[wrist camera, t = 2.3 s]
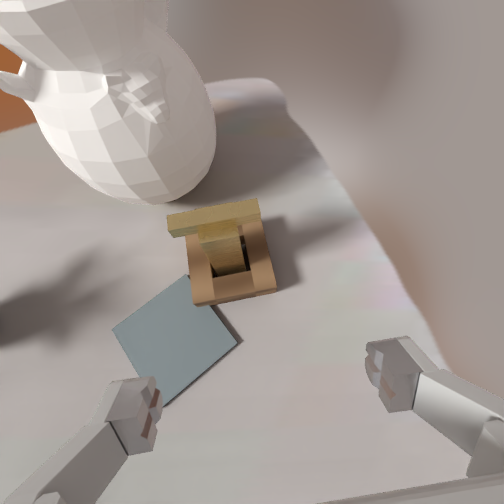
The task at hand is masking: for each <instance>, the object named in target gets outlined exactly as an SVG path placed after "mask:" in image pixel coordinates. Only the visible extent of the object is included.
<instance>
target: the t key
mask: <svg viewBox="0 0 504 504" xmlns="http://www.w3.org/2000/svg"><path fill="white" fill-rule="evenodd" d="M258 221H261V215H260V209H259V205H258V200H257V198H255V199H250V200H245V201H240V202H234V203H232V202H230V203H224V204H219V205H214V206H209V207H203V208H198V209H195V210H193V211H187V212H182V213H177V214H172V215H167V224H168V231H169V233H170V234H171V235H172V236H173V238H176V237H181V236H186V235H191V234H197V233H198V239H199V244H200V246H201V248H202V249H203V251H204V253H205V255H206V256H207V258H208V260H209V261H210V263H211V265H212V266H213V268H214V270H215V272H216V273H217V275H218V277H221V276H226V275H231V274H236V273H241V272H246V267H245V262H244V257H243V252H242V247H241V242H240V237H239V233H238V228H237V226H238V225H243V224H248V223H253V222H258Z"/></svg>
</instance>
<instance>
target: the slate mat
mask: <svg viewBox="0 0 504 504" xmlns="http://www.w3.org/2000/svg"><path fill="white" fill-rule="evenodd" d="M112 331H113V332H114V334H115V336H116V338H117V339H118V341H119V343H120V344H121V346H122V348H123V350H124V351H125V353H126V355H127V356H128V358H129V360H130V362H131V363H132V365H133V367H134V368H135V370H136V372H137V374H138V375H139V377H147V376H154V377H155V379H156V381H157V384H156V388H157V389H158V390H160V392H161V394H162V399H163V406H165V405H166V404H167V403H168V402H169V401H170V400H172V399H173V398H174V397H175V396H176V395H178V394H179V393H180V392H181V391H182V390H183V389H185V388H186V387H187V386H188V385H189V384H190V383H192V382H193V381H194V380H195V379H196V378H197V377H199V376H200V375H201V374H202V373H203V372H204V371H206V370H207V369H208V368H209V367H210V366H212V365H213V364H214V363H215V362H216V361H217V360H219V359H220V358H221V357H222V356H223V355H224V354H226V353H227V352H228V351H229V350H230V349H231V348H233V347H234V346H235V345H236V344H237V341H236V340H235V339H234V337H233V336H232V335H231V333H230V332H229V331H228V329H227V328H226V327H225V325H224V324H223V323H222V321H221V320H220V319H219V317H218V316H217V315H216V313H215V312H214V311H213V309H212V308H211V307H210V305H207V306H202V307H196V306H195V305H194V304H193V300H192V291H191V283H190V279H189V277H188V276H187V275H186V274H185V275H184V276H183V277H181V278H180V279H178V280H177V281H176V282H174V283H173V284H172V285H170V286H169V287H168V288H166V289H165V290H164V291H162V292H161V293H160V294H158V295H157V296H156V297H154V298H153V299H152V300H150V301H149V302H148V303H146V304H145V305H144V306H142V307H141V308H140V309H138V310H137V311H136V312H134V313H133V314H132V315H130V316H129V317H128V318H126V319H125V320H124V321H122V322H121V323H120V324H118V325H117V326H116V327H114V328H113V329H112Z"/></svg>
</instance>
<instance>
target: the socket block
mask: <svg viewBox="0 0 504 504" xmlns="http://www.w3.org/2000/svg"><path fill="white" fill-rule="evenodd" d="M237 228H238V233H239V237H240V242H241V245H244V244H245V245H246V250H247V255H248V260H249V265H250V269H251V271H246V272H241V273H236V274H231V275H226V276H221V277H216V278H215V274H214V268H213V266H212V265H211V263H210V261H209V260H208V258H207V256H206V255H205V253H204V251H203V249H202V248H201V246H200V244H199V239H198V233H197V234H191V235H186V236H185V239H186V247H187V256H188V265H189V274H190V283H191V291H192V300H193V304H194V305H195V306H196V307H202V306H207V305H210V306H212V305H217V304H222V303H227V302H231V301H236V300H241V299H246V298H251V297H256V296H261V295H266V294H271V293H275V292H276V290H277V284H276V280H275V276H274V272H273V268H272V263H271V259H270V255H269V251H268V246H267V242H266V238H265V234H264V230H263V225H262V221H258V222H253V223H248V224H243V225H238V226H237Z"/></svg>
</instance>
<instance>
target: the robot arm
mask: <svg viewBox="0 0 504 504" xmlns="http://www.w3.org/2000/svg"><path fill="white" fill-rule="evenodd" d="M366 351H367V353H368V354H369V355H368V356H367V357H366V358H365V368H366V373H367V375H368V378H369V380H370V381H371V383H372V385H373V386H375V387H377V388H378V389H379V397H380V399H381V401H382V402H383V404H384V406H385V407H386V409H387V411H388V412H389V413H392V412H400V411H407V410H413V412H415V413H416V414H417V415H418V416H420V417H421V418H422V419H424V420H425V421H426V422H428V423H429V424H430V425H431V426H433V427H434V428H435V429H437V430H438V431H439V432H440V433H442V434H443V435H444V436H446V437H447V438H448V439H450V440H451V441H452V442H453V443H455V444H456V445H457V446H459V447H460V448H461V449H463V450H464V451H465V452H466V453H468V454H469V455H470V456H472V457H471V460H470V463H469V465H468V468H467V472H466V475H467V476H468V478H466V479H460V480H454V481H448V482H442V483H436V484H431V485H425V486H419V487H413V488H407V489H401V490H395V491H389V492H383V493H377V494H371V495H365V496H359V497H353V498H347V499H341V500H335V501H329V502H323V503H317V504H504V399H503V398H501V397H499V396H497V395H495V394H493V393H491V392H489V391H487V390H485V389H483V388H481V387H479V386H477V385H475V384H473V383H471V382H469V381H466V380H464V379H463V378H461V377H459V376H457V375H455V374H453V373H451V372H449V371H447V370H444V369H441V370H439V368H438V367H437V366H436V365H435V364H434V363H433V362H432V361H431V360H430V359H429V358H428V357H427V355H426V354H425V353H424V352H423V351H422V350H421V349H420V348H419V347H418V346H417V345H416V343H415V342H414V341H413V340H412V339H411V338H410V337H408V336H403V337H397V338H390V339H384V340H378V341H372V342H368V343H367V344H366ZM156 384H157V381H156V379H155V377H154V376H147V377H140V378H132V379H125V380H118V381H112V382H111V383H110V384H109V385H108V387H107V389H106V391H105V393H104V395H103V397H102V399H101V401H100V403H99V405H98V407H97V409H96V411H95V413H94V415H93V417H92V419H91V421H90V423H89V425H87V426H84V427H83V428H82V429H80V430H79V431H78V432H77V433H76V434H75V435H74V436H73V437H72V438H71V439H70V440H69V441H68V442H66V443H65V444H64V445H63V446H62V447H61V448H60V449H59V450H58V451H57V452H56V453H55V454H54V455H53V456H51V457H50V458H49V459H48V460H47V461H46V462H45V463H44V464H43V465H42V466H41V467H40V468H39V469H37V470H36V471H35V472H34V473H33V474H32V475H31V476H30V477H29V478H28V479H27V480H26V481H25V482H23V483H22V484H21V485H20V486H19V487H18V488H17V489H16V490H15V491H14V492H13V493H12V494H11V495H10V496H8V497H7V498H6V500H5V501H4V503H3V504H95V502H96V501H97V500H98V498H99V497H100V495H101V494H102V493H103V491H104V490H105V489H106V487H107V486H108V484H109V483H110V482H111V480H112V479H113V477H114V476H115V475H116V473H117V472H118V471H119V469H120V468H121V466H122V465H123V464H124V462H125V461H126V459H127V458H128V456H129V455H134V454H140V453H145V452H150V451H153V447H154V443H155V439H156V435H157V428H156V426H155V424H156V423H157V422H158V421H159V420H160V419H161V414H162V409H163V399H162V394H161V392H160V390H158V389H157V388H156Z"/></svg>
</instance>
